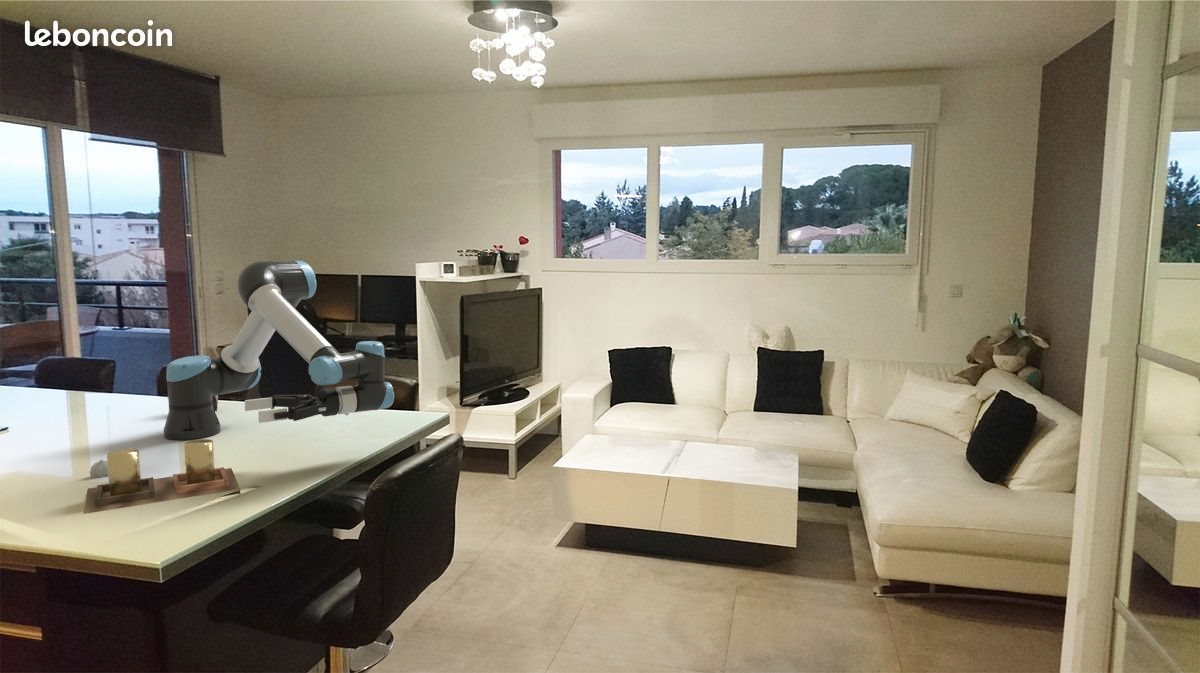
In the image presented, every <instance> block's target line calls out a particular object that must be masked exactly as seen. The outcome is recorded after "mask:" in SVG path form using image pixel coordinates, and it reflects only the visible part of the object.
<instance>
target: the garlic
mask: <svg viewBox="0 0 1200 673" xmlns="http://www.w3.org/2000/svg"><path fill="white" fill-rule="evenodd" d="M89 476H90V477H91V478H105V477H109V475H108V462H107V460H104V459H99V461H96V462H95V463H94V464H92V466H91V467H90V470H89Z"/></svg>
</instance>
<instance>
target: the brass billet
mask: <svg viewBox="0 0 1200 673" xmlns="http://www.w3.org/2000/svg"><path fill="white" fill-rule="evenodd" d="M183 445H184V449H183V450H184V462H185V473H186V480H187V485H189V484H196V483H202V482H209V481H215V455H214V454H215V453H214V452H215V450H214V441H213V440H212V439H206V438H205V439H202V438H200V439H192V440H189V441H187V442H184V444H183Z"/></svg>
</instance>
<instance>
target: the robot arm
mask: <svg viewBox="0 0 1200 673" xmlns="http://www.w3.org/2000/svg"><path fill="white" fill-rule="evenodd" d="M236 286H237V292H238V295H239V297H240V299H241V300H242V302H243V304H245V306H246V307H248V309H249V310H250V311H251V312H250V313H249V315H248V317H247V318H246V320H245V322H244V323H243V325H242V327H241V329H240V330H239V332H238V333H237V335H236V337H235V339H234V340H233V342H232V344H230V345H227V346H225V347H223V349H222V350H221V352H220V354H219V355H218V356H217V357H215V358H211V357H210V356H209V355H199V354H198V355H192V356H191V355H190V356H185V357H180V358H177V359H174V360H173V361H171V362H169V363H168V364H167V366H166V376H165V379H166V383H167V384H166V385H167V397H168V398H167V400H168V414H167V417H166V421H165V423H164V427H163V437H164V438H165V439H168V440H174V441H176V440H177V441H183V440H184V441H185V440H198V439H202V438H207V437H211V435H212V436H214V435H217V434H219V433H220V432H221V429H222V428H221V423H220V420H219V418H218V416H217V414H216V412H215V411H214V409H213V402H212V396H216V395H218V396H219V395H220V396H221V395H226V394H231V393H236V392H245V390H249V389H251V388H253V387H255V386H256V385H257V384H258V383H259V381H260V380H261V375H262V373H261V371H262V366H261V363H260V358H259V357H260V355H261V354H262V353H263V352H264V349H265V348H266V346H267V345H268V343H269V341H270V340H271V339H272V337H273V335H274V333H275V332H277V333H278V334H279V335H280V336H281V337H282V338H283V339H284V340H285V341H286V342H287V343H288V344H289V345H290V347H292V348H293V350H295V351H296V352H297V354H299V355H300V356H301V357H302V359H304V360H305V361H306V363H308V375H309V376H310V379H311V381H312V382H313V383H314V384H315V385H318V386H329V385H330V386H331V385H335V384H340V383H342V382H344V383H345V382H347V381H352V380H353V381H354V380H356V384H355V385H343V386H336V387H335V388H334V387H329V388H328V387H327V388H321V389H319V391H318V394H317V396H313V395H311V393H306V394H272V395H271V396H270V397H262V398H255V399H246V400H244V411H245V412H249V411H255V410H261V411H258V423H259V424H261V423H270V422H277V421H285V420H293V421H294V422H297V421H300V420H305V419H309V418H311V417H315V416H318V415H321V416H322V417H333V416H337V415H345V416H349V414H353V413H354V414H355V413H361V412H369V411H379V410H383V409H388V408H390V407H391V406H392V405H393V403H394V401H395V400H394V399H395V393H394V387H393V386H392V384H391V382H388V381H386V380H385V358H386V355H385V346H384V344H383V343H382V342H381V341H376V340H375V341H374V340H368V341H367V340H364V341H359V342H357V343H356V345H355V349H354V350H353V351H349V352H343V353H340V352H339V351H338V350H337V349H336V348H335V347H334V346H333V345H332V344H331V343H330V342H329V341H328V340H327V339H326V338H325V337H324V336H323V335H322V334H321V333H320V332H319V331H318V330H317V329H316V328H315V327H314V326H312V324H311V323H310V322H309V321H308V320H307V319H306V318H305V317H304V316H303V315H302V314H301V313H300V312H299V311H298V310H297V309H296V308H297V306H298V305H299V303H300V302H301V300H308V299H311V298H312V297H313V296H314V295H315V294H316V291H317V279H316V274H315V271H314V269H313V268H312V267H311V266H310V264H308V263H307V262H305V261H302V260H296V259H291V260H260V261H255V262H252V263H249V264H248V265H246V266H245V267H244V268H243V269H242V271H241V272H240V274H239V275H238V278H237V284H236ZM277 407H279V409H275V408H277ZM264 409H265V410H264ZM266 409H270V410H266Z"/></svg>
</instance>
